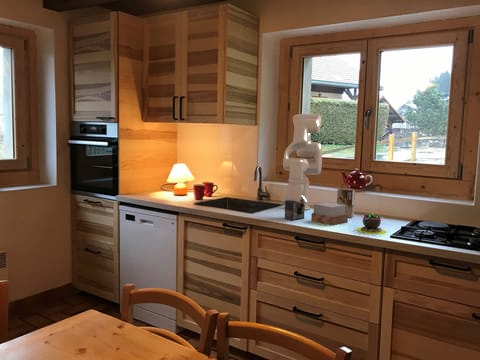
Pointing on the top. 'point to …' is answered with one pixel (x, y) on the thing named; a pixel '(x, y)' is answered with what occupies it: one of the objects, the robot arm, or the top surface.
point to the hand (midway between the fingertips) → (294, 213)
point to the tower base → (329, 219)
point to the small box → (293, 210)
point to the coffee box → (346, 200)
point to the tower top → (329, 209)
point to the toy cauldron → (371, 224)
